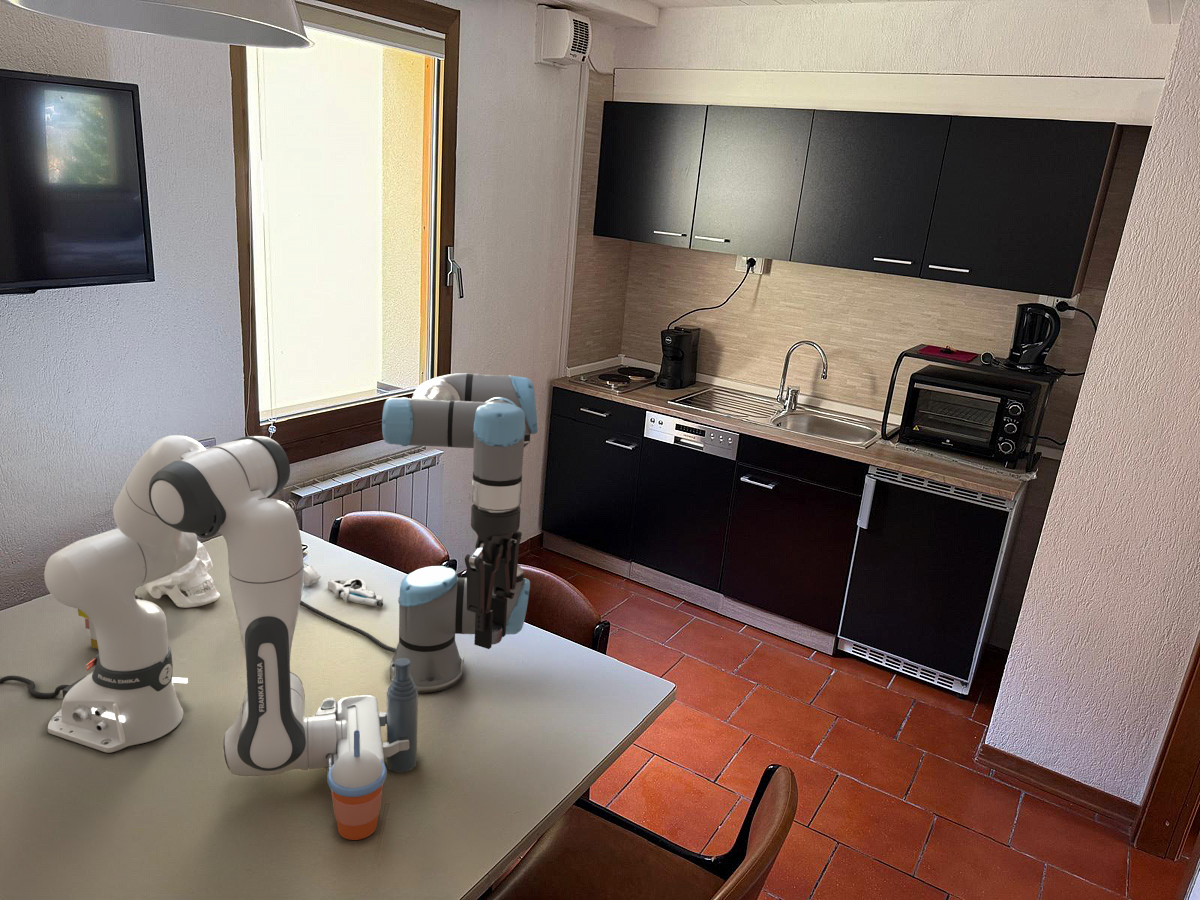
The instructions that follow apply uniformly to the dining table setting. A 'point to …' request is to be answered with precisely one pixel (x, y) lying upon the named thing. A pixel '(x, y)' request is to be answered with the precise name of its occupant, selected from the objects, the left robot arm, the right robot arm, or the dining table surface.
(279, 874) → the dining table surface
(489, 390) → the right robot arm
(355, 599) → the toy gun
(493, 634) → the cap
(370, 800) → the cup with straw
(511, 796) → the dining table surface
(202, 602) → the skull
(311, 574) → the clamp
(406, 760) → the bottle
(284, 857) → the dining table surface
